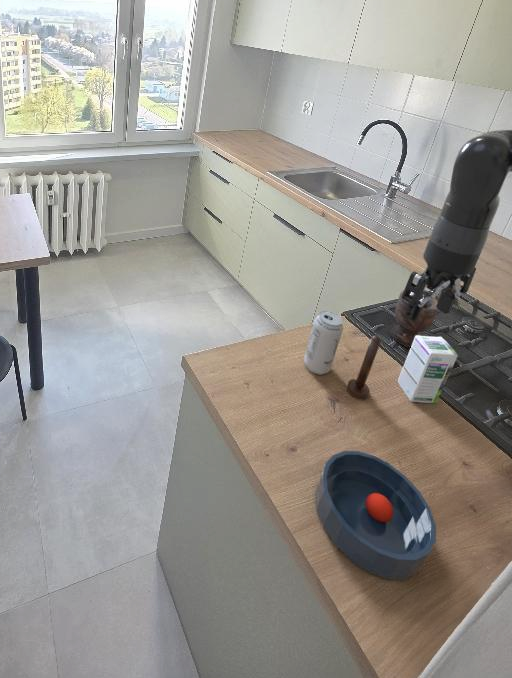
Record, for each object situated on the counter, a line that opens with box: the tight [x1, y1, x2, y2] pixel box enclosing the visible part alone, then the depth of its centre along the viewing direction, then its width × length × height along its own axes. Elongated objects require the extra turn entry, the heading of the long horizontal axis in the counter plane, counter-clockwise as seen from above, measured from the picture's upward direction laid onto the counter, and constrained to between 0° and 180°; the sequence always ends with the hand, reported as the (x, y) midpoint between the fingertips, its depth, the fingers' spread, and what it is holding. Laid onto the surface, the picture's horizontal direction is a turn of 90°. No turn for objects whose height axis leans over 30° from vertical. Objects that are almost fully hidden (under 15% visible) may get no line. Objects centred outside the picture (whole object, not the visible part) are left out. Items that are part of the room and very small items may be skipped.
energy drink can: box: [303, 310, 344, 376], centre depth 99 cm, size 6×6×15 cm
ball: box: [366, 493, 393, 523], centre depth 70 cm, size 4×4×4 cm
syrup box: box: [397, 335, 459, 404], centre depth 93 cm, size 6×6×14 cm
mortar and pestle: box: [388, 289, 440, 348], centre depth 107 cm, size 12×9×20 cm
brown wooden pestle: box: [346, 335, 382, 401], centre depth 92 cm, size 4×4×16 cm
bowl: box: [314, 450, 437, 580], centre depth 70 cm, size 16×16×6 cm
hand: (426, 314), depth 81 cm, fingers open, 8 cm apart
